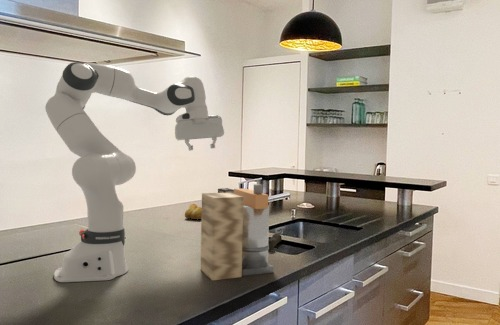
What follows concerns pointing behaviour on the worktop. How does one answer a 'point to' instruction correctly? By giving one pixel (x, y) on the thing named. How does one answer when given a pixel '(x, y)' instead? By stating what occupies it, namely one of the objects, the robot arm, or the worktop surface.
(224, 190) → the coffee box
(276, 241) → the hand tool
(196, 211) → the bread roll
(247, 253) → the motor housing
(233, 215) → the zigzag patterned pillar
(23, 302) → the worktop surface
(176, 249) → the worktop surface
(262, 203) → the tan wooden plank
